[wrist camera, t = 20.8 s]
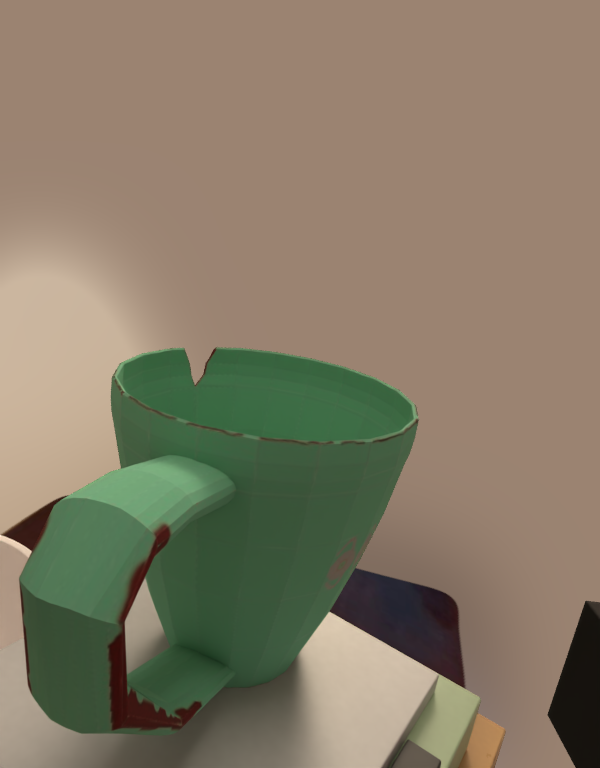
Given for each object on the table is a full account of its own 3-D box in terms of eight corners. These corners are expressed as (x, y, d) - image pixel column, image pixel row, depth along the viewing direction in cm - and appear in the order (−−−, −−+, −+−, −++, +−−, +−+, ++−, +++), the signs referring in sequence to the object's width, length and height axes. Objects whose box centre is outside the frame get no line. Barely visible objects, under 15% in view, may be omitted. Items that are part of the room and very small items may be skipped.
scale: (467, 747, 21) (487, 680, 21) (226, 1273, 10) (248, 1170, 9) (204, 583, 29) (211, 529, 28) (-111, 779, 17) (-116, 697, 16)
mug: (183, 537, 27) (205, 335, 24) (383, 602, 24) (431, 384, 21) (-128, 831, 13) (-159, 436, 10) (257, 1052, 10) (347, 605, 8)
